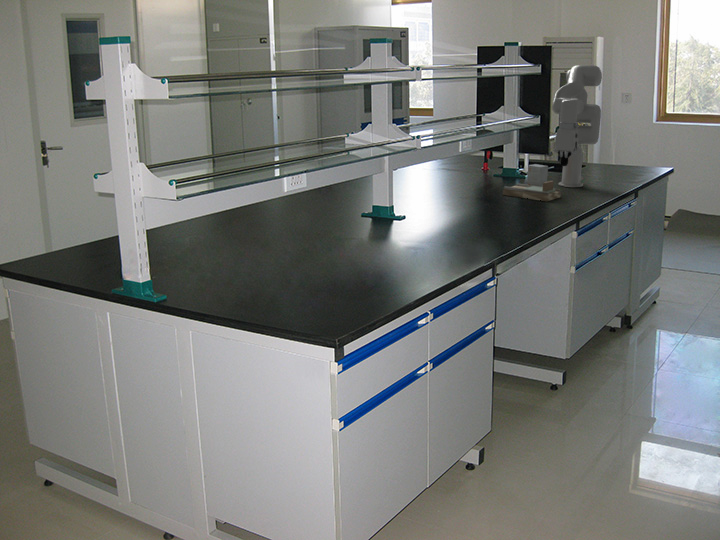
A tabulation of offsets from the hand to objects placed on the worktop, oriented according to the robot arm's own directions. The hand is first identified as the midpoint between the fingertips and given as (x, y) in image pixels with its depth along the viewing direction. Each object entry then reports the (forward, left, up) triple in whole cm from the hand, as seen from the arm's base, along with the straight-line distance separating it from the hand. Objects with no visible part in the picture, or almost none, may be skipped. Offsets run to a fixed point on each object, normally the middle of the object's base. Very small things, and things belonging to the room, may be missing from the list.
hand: (564, 165), depth 358 cm
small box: (-14, -21, -17) cm, 31 cm away
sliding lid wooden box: (0, -16, -17) cm, 23 cm away
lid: (0, -12, -14) cm, 18 cm away
